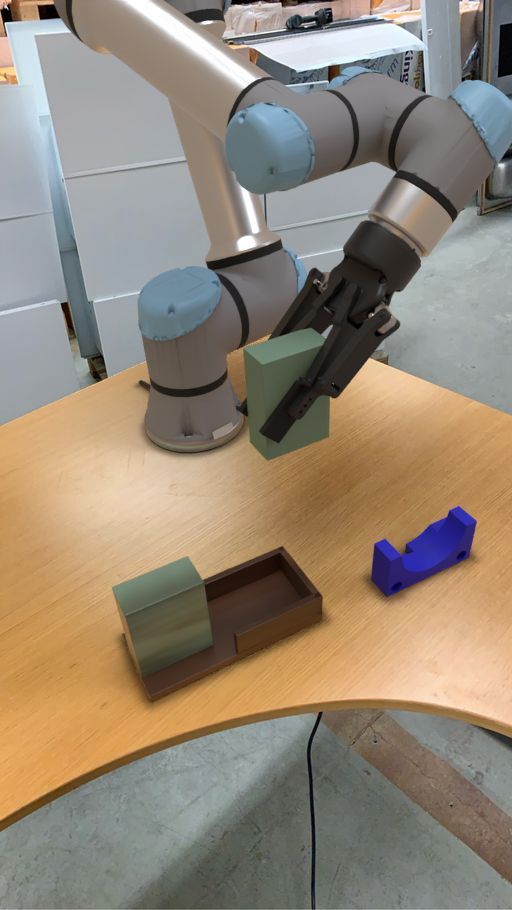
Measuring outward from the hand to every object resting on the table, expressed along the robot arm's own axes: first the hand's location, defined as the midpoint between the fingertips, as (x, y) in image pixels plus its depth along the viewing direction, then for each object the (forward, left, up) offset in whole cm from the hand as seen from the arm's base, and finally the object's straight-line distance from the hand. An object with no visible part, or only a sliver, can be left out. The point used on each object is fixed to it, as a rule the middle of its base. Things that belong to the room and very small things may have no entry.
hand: (258, 426), depth 70 cm
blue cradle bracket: (+15, +10, -19) cm, 26 cm away
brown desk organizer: (+6, -12, -18) cm, 23 cm away
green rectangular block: (+1, +4, -3) cm, 5 cm away
